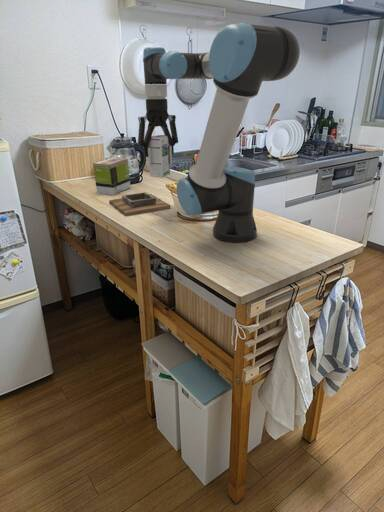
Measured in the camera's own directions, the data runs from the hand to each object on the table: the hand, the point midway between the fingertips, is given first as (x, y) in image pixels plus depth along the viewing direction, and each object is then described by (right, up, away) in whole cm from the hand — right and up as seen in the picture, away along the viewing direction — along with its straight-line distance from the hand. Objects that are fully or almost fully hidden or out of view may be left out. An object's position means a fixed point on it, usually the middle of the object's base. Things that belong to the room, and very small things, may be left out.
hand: (159, 164), depth 140 cm
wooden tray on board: (-11, -13, +22) cm, 28 cm away
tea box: (-26, -2, +45) cm, 53 cm away
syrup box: (0, -4, +2) cm, 5 cm away
